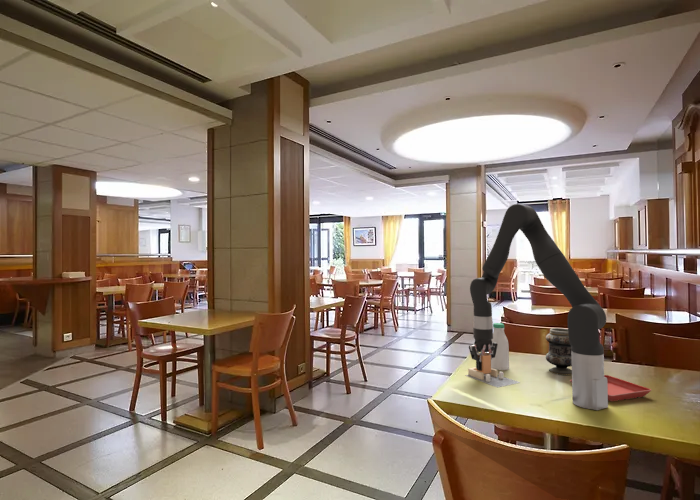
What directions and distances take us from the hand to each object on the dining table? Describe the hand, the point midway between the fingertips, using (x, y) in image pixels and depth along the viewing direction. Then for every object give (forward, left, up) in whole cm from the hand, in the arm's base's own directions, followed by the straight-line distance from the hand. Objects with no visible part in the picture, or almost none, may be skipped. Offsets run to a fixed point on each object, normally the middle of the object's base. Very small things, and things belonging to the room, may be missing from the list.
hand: (483, 369), depth 160 cm
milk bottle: (+6, -15, -4) cm, 17 cm away
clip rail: (-4, 0, -4) cm, 6 cm away
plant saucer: (-33, -27, -4) cm, 43 cm away
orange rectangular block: (0, 0, -1) cm, 1 cm away
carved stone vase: (-9, -35, -4) cm, 36 cm away
